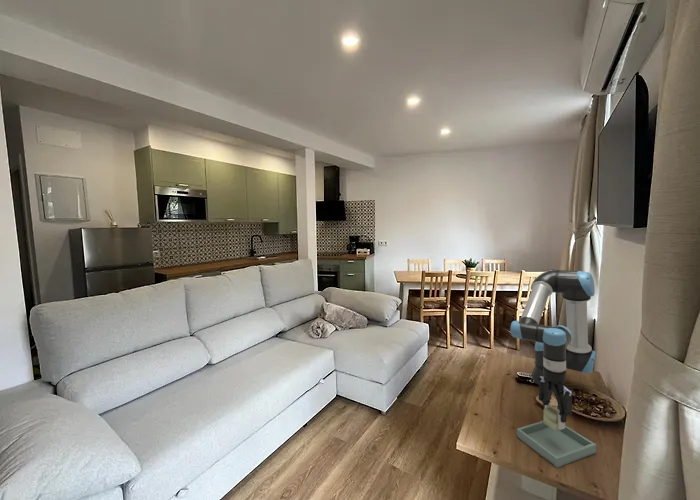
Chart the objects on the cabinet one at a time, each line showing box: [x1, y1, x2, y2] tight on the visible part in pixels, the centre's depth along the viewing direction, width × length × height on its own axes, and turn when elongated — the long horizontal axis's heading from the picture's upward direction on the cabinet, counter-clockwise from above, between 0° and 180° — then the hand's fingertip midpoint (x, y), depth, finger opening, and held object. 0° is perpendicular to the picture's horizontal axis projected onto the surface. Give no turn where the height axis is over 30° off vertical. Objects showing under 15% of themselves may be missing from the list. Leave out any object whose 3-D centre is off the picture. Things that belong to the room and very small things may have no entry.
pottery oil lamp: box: [535, 395, 558, 409], centre depth 148 cm, size 9×12×7 cm
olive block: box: [543, 407, 560, 431], centre depth 124 cm, size 5×5×6 cm
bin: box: [516, 419, 597, 469], centre depth 125 cm, size 20×18×4 cm
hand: (554, 424), depth 124 cm, fingers closed on olive block, 5 cm apart
